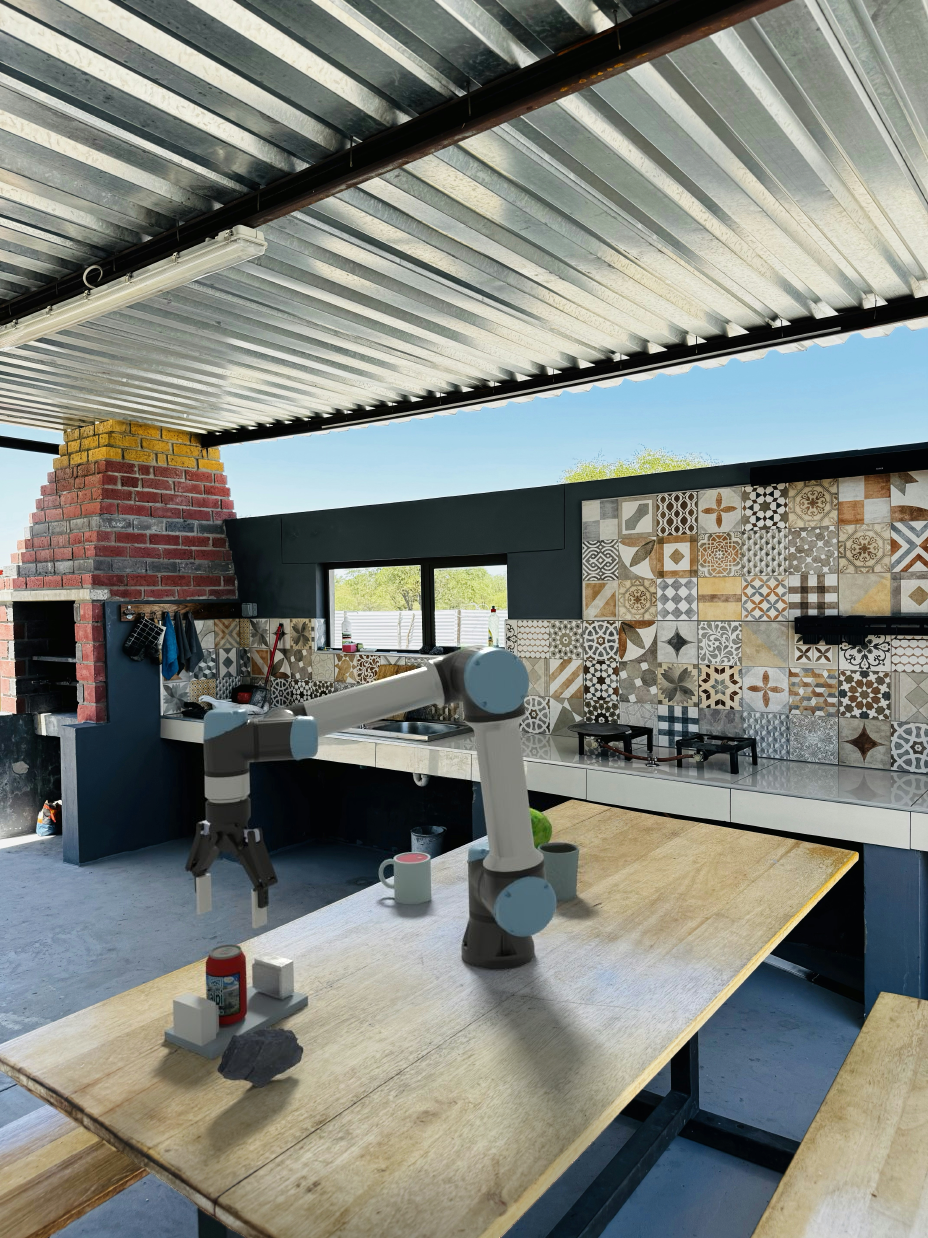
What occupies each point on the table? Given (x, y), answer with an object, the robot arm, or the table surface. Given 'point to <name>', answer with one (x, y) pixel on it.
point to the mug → (409, 877)
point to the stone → (260, 1055)
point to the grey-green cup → (561, 868)
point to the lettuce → (540, 828)
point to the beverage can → (227, 982)
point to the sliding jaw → (273, 975)
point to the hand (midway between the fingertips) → (231, 919)
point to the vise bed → (210, 1040)
